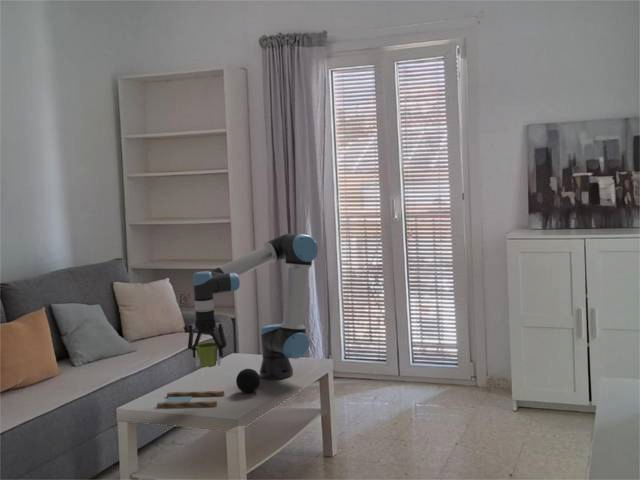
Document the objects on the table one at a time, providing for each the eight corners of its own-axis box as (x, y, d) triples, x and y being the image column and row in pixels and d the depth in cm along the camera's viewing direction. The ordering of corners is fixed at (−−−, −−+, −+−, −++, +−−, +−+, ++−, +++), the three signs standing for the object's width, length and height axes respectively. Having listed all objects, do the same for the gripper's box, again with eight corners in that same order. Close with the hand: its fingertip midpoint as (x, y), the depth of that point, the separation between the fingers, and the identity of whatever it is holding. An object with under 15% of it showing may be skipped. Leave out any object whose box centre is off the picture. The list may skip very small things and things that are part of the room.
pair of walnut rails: (224, 394, 308) (224, 390, 308) (215, 406, 292) (215, 402, 292) (168, 395, 310) (168, 392, 310) (157, 407, 294) (156, 404, 294)
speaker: (265, 390, 311) (264, 367, 310) (251, 397, 302) (249, 373, 301) (246, 387, 316) (245, 365, 315) (232, 394, 308) (230, 370, 307)
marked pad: (192, 397, 306) (192, 396, 306) (185, 404, 296) (185, 403, 296) (168, 397, 307) (168, 397, 307) (161, 405, 297) (161, 404, 297)
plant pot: (192, 366, 299) (190, 345, 299) (211, 361, 306) (209, 341, 305) (206, 370, 293) (204, 348, 292) (224, 364, 299) (223, 343, 298)
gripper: (232, 307, 300) (235, 361, 302) (181, 309, 302) (185, 363, 304) (228, 310, 293) (232, 366, 295) (176, 312, 294) (180, 368, 296)
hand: (208, 365), depth 299 cm, fingers closed on plant pot, 8 cm apart
